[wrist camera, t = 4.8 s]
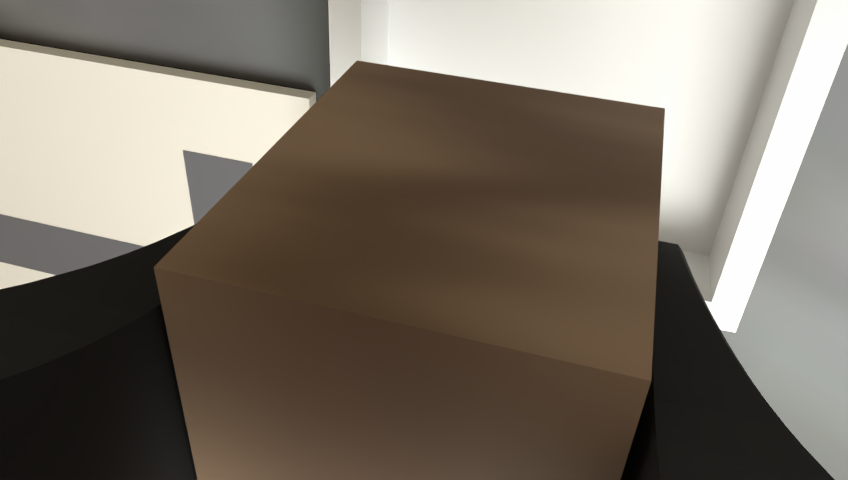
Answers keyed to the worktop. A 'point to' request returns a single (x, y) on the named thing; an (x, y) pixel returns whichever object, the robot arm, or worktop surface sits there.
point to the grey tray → (648, 94)
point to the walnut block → (425, 288)
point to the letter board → (119, 153)
